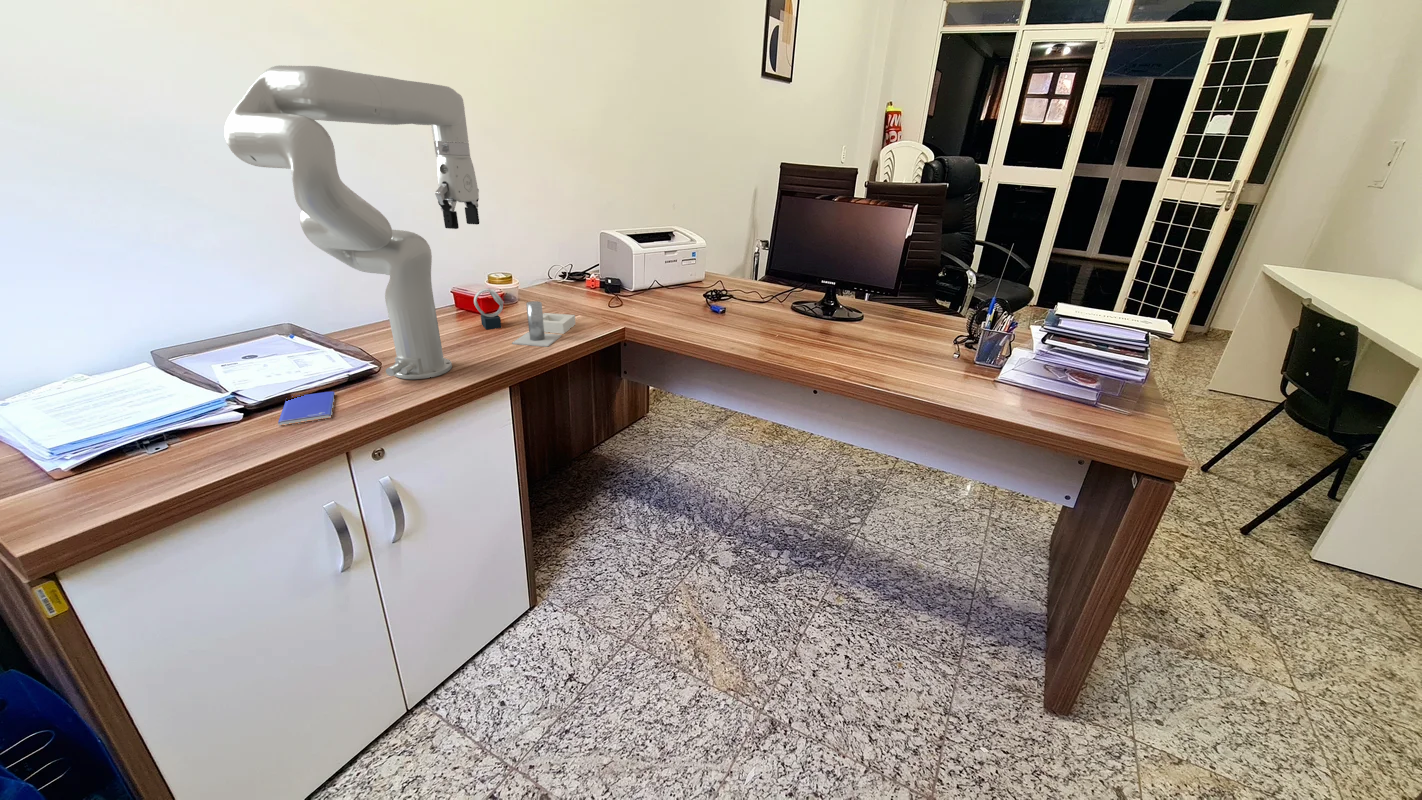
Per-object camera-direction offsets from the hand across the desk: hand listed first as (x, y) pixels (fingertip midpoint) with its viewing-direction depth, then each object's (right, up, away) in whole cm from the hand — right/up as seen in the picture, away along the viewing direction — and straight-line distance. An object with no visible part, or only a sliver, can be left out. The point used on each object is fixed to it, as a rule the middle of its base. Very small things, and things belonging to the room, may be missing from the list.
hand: (462, 226), depth 137 cm
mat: (+13, -27, +16) cm, 34 cm away
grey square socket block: (+15, -22, +27) cm, 38 cm away
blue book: (-18, -46, -28) cm, 57 cm away
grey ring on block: (-3, -22, +26) cm, 34 cm away
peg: (+13, -26, +16) cm, 34 cm away
